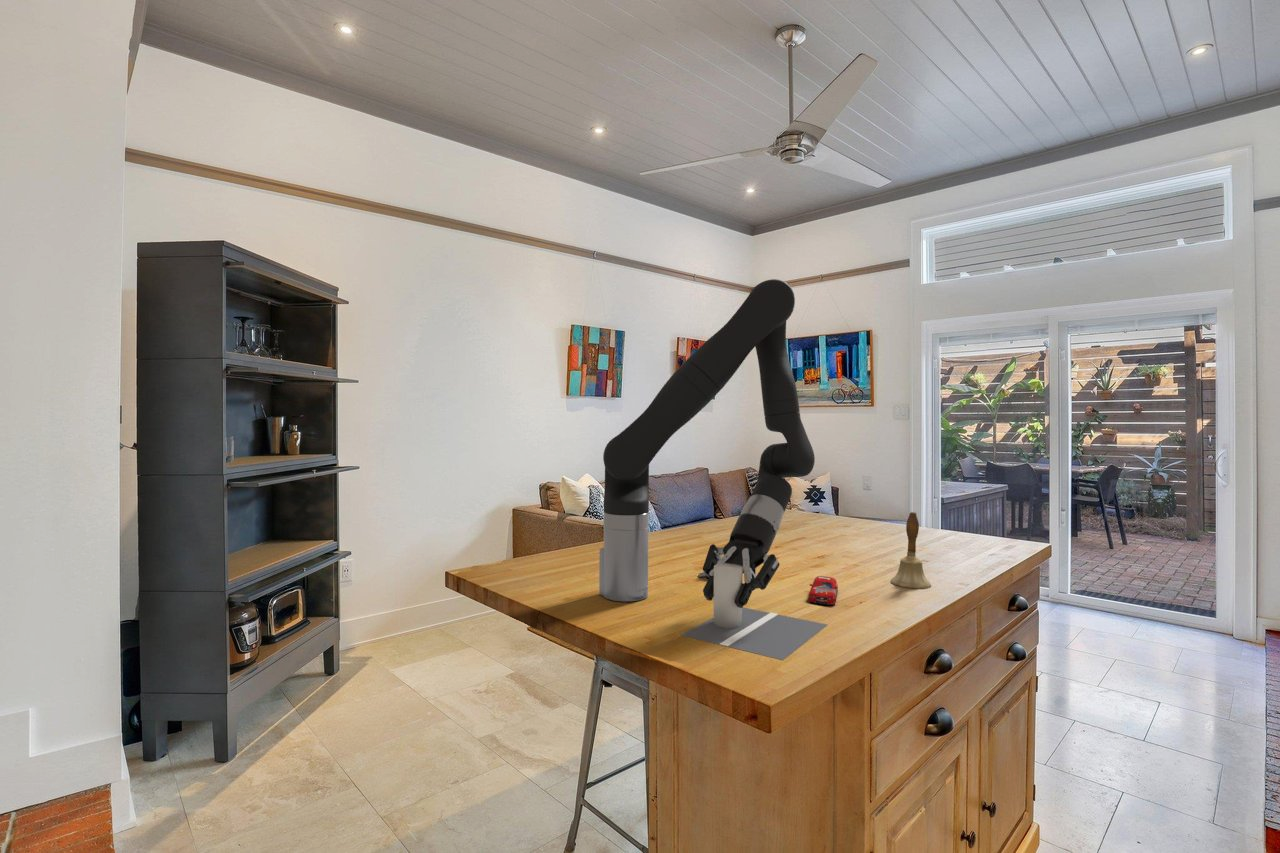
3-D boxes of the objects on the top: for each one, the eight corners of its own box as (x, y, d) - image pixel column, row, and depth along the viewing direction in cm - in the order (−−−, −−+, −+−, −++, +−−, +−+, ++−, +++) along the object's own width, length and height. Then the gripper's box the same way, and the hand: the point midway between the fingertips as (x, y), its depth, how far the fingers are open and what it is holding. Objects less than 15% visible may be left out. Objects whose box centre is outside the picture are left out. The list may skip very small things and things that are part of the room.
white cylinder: (708, 624, 109) (708, 567, 109) (721, 616, 113) (722, 562, 113) (733, 630, 106) (734, 571, 106) (746, 622, 110) (747, 566, 110)
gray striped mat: (680, 637, 104) (680, 634, 104) (735, 608, 120) (735, 605, 120) (783, 663, 93) (783, 659, 93) (828, 627, 110) (828, 624, 110)
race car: (835, 609, 121) (835, 589, 121) (806, 606, 123) (806, 586, 123) (840, 591, 133) (840, 573, 133) (814, 589, 135) (814, 570, 135)
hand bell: (917, 578, 144) (918, 509, 144) (939, 588, 136) (940, 515, 135) (883, 579, 143) (884, 510, 142) (903, 589, 134) (904, 515, 134)
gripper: (717, 508, 120) (680, 582, 111) (786, 516, 111) (750, 597, 102) (732, 532, 124) (697, 605, 115) (799, 541, 115) (766, 622, 106)
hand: (722, 601), depth 108 cm, fingers open, 5 cm apart
